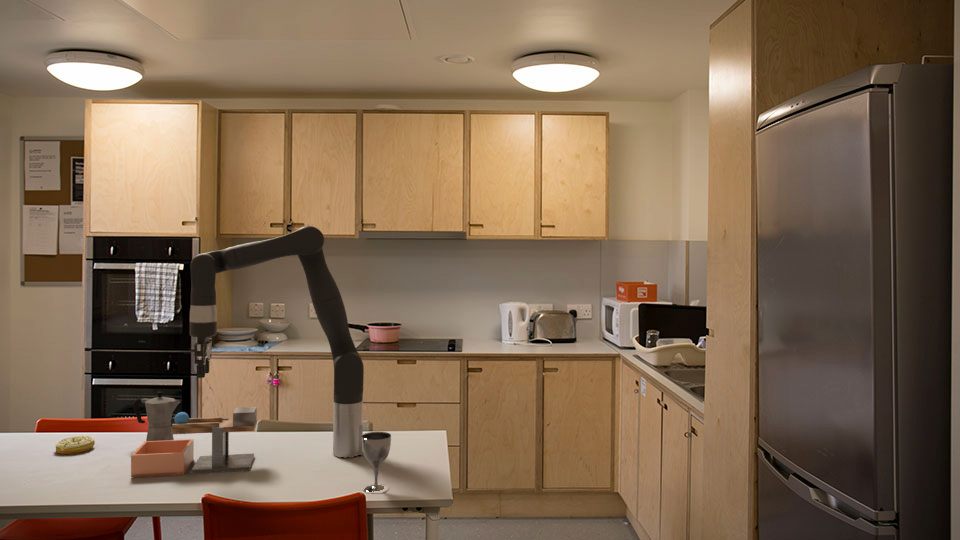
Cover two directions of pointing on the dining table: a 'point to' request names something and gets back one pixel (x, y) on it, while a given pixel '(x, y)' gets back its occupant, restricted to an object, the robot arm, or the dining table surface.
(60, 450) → the decorated donut
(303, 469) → the dining table surface
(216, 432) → the lever stand
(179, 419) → the ball
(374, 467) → the wine glass
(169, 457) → the cup
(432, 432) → the dining table surface
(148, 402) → the coffeepot
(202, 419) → the lever
